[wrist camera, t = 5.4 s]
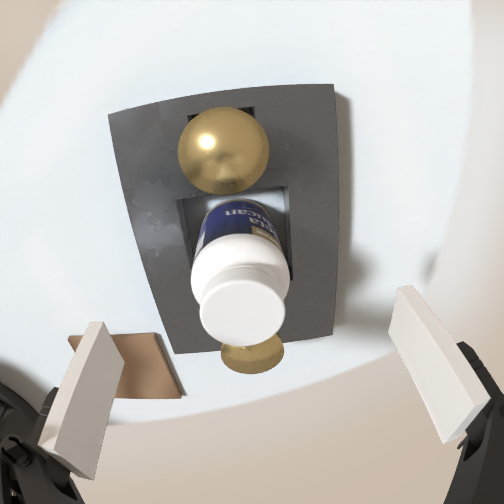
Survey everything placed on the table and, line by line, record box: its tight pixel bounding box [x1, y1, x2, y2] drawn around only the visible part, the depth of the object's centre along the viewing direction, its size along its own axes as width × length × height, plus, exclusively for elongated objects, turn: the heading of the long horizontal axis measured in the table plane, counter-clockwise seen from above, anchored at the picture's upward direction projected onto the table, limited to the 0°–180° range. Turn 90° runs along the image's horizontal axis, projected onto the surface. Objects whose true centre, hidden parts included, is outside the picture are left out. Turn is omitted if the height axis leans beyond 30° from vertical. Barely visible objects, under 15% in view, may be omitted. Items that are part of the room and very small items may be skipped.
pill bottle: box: [191, 198, 290, 346], centre depth 18 cm, size 5×5×10 cm
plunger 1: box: [178, 107, 269, 195], centre depth 16 cm, size 4×4×4 cm
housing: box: [108, 84, 339, 354], centre depth 21 cm, size 14×20×2 cm
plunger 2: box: [221, 332, 284, 374], centre depth 22 cm, size 4×4×4 cm
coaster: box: [68, 333, 182, 399], centre depth 28 cm, size 10×10×1 cm
